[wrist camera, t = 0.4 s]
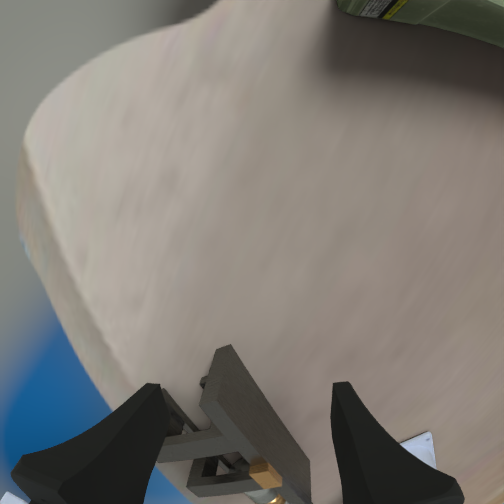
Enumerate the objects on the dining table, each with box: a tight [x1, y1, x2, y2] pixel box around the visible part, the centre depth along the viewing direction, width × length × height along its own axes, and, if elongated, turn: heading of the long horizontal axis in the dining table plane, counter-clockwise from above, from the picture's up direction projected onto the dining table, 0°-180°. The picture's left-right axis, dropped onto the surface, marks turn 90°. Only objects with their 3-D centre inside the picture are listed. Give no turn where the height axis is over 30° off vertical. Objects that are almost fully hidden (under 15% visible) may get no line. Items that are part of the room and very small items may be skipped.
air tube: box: [228, 458, 289, 504], centre depth 27 cm, size 12×3×3 cm, turn 27°
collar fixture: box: [156, 344, 313, 504], centre depth 24 cm, size 26×9×7 cm, turn 27°
